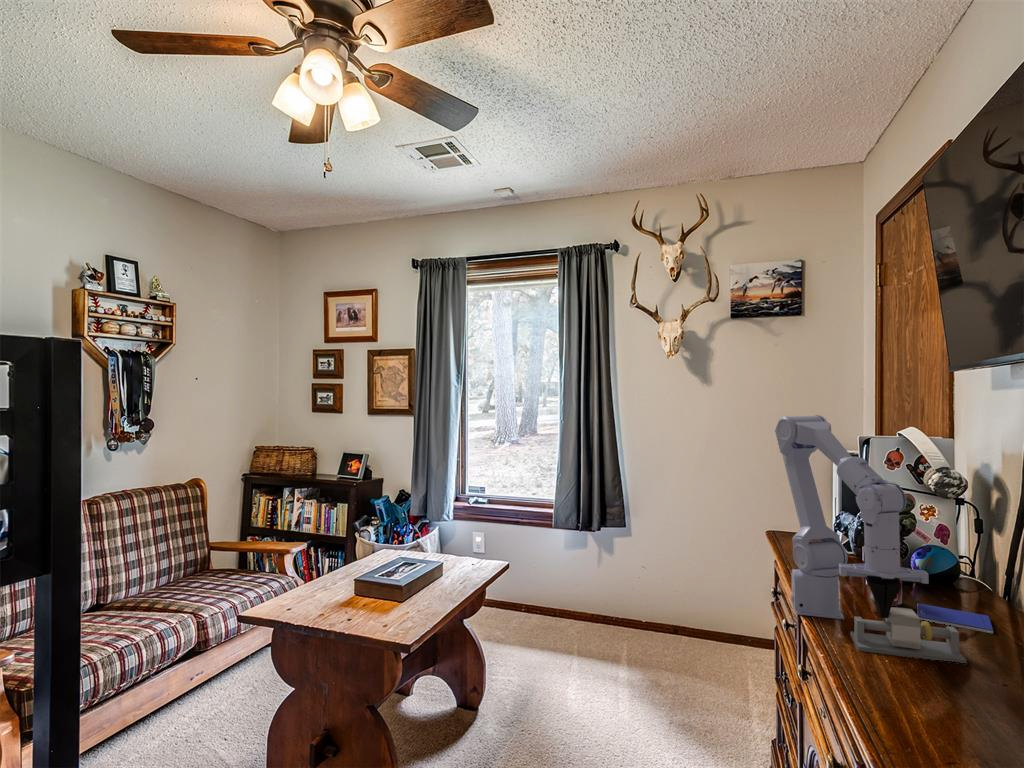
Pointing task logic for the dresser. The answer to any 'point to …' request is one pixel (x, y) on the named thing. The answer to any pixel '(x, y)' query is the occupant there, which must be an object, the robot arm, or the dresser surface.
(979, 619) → the hard drive
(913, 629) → the sleeve
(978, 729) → the dresser surface
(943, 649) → the rail
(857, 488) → the robot arm
